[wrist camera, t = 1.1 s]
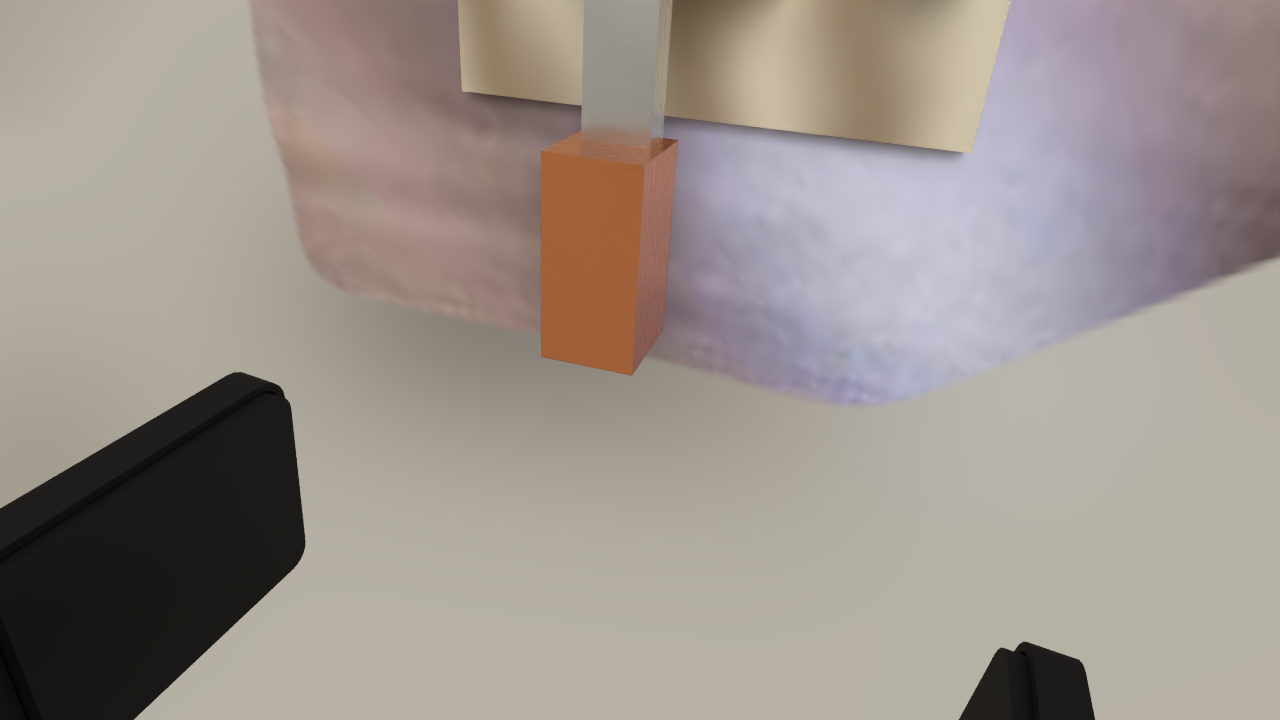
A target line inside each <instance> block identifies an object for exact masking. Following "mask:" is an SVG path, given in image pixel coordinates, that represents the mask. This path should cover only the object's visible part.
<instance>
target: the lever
mask: <svg viewBox="0 0 1280 720" xmlns="http://www.w3.org/2000/svg"><path fill="white" fill-rule="evenodd" d="M672 2H673V0H584V26H583V71H582V117H581V131H579V132H577V133H575V134H573V135H571V136H570V137H568V138H566V139H564V140H562V141H560V142H558V143H556V144H554V145H552V146H550V147H548V148H546V149H544V150H542V151H541V357H545V358H550V359H554V360H559V361H564V362H569V363H574V364H578V365H583V366H589V367H593V368H598V369H603V370H608V371H612V372H618V373H622V374H627V375H633V373H634V372H635V370H636V369H637V367H638V366H639V364H640V363H641V361H642V360H643V359H644V357H645V356H646V354H647V353H648V351H649V350H650V348H651V347H652V345H653V344H654V342H655V341H656V339H657V338H658V337H659V335H660V334H661V332H662V331H663V322H664V310H665V297H666V285H667V273H668V260H669V248H670V235H671V223H672V211H673V198H674V186H675V173H676V161H677V149H678V140H673V139H665V138H663V128H664V114H665V100H666V86H667V72H668V58H669V44H670V30H671V16H672Z"/></svg>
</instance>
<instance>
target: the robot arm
mask: <svg viewBox="0 0 1280 720" xmlns="http://www.w3.org/2000/svg"><path fill="white" fill-rule="evenodd" d="M300 496H301V495H300V486H299V478H298V468H297V458H296V449H295V440H294V431H293V421H292V412H291V406H290V403H289V402H288V400H287V399H285V396H284V393H283V390H282V389H281V387H280V386H279V385H276V384H274V383H272V382H269V381H266V380H263V379H260V378H257V377H254V376H251V375H248V374H245V373H242V372H235V373H232V374H229V375H227V376H225V377H224V378H222V379H220V380H218V381H217V382H215V383H213V384H212V385H210V386H208V387H207V388H205V389H203V390H201V391H200V392H198V393H196V394H195V395H193V396H191V397H190V398H188V399H186V400H184V401H183V402H181V403H179V404H178V405H176V406H174V407H172V408H171V409H169V410H168V411H166V412H164V413H162V414H161V415H159V416H157V417H156V418H154V419H152V420H150V421H149V422H147V423H145V424H144V425H142V426H140V427H138V428H137V429H135V430H133V431H132V432H130V433H128V434H127V435H125V436H123V437H121V438H120V439H118V440H116V441H115V442H113V443H111V444H110V445H108V446H106V447H105V448H103V449H101V450H99V451H98V452H96V453H94V454H92V455H91V456H89V457H87V458H86V459H84V460H82V461H81V462H79V463H77V464H75V465H74V466H72V467H70V468H69V469H67V470H65V471H64V472H62V473H60V474H58V475H57V476H55V477H53V478H52V479H50V480H48V481H46V482H45V483H43V484H41V485H40V486H38V487H36V488H35V489H33V490H31V491H30V492H28V493H26V494H24V495H23V496H21V497H19V498H18V499H16V500H14V501H13V502H11V503H9V504H7V505H6V506H4V507H3V508H0V720H134V719H135V718H136V717H137V716H138V715H139V714H140V713H141V712H142V711H143V710H144V709H145V708H146V707H147V706H149V705H150V704H151V703H152V702H153V701H154V700H155V699H156V698H157V697H158V696H159V695H160V694H161V693H162V692H163V691H164V690H165V689H167V688H168V687H169V686H170V685H171V684H172V683H173V682H174V681H175V680H176V679H177V678H178V677H179V676H180V675H181V674H182V673H184V672H185V671H186V670H187V669H188V668H189V667H190V666H191V665H192V664H193V663H194V662H195V661H196V660H197V659H198V658H199V657H200V656H201V655H203V653H205V652H206V651H207V650H208V649H209V648H210V647H211V646H212V645H213V644H214V643H215V642H216V641H217V640H219V638H221V637H222V636H223V635H224V634H225V633H226V632H227V631H228V630H229V629H230V628H231V627H232V626H233V625H234V624H235V623H236V622H238V621H239V619H241V618H242V617H243V616H244V615H245V614H246V613H247V612H248V611H249V610H250V609H251V608H252V607H253V606H254V605H256V604H257V603H258V602H259V601H260V600H261V599H262V598H263V597H264V596H265V595H266V594H267V593H268V592H269V591H270V590H271V589H273V588H274V587H275V586H276V585H277V584H278V583H279V582H280V581H281V580H282V579H283V578H284V577H285V576H286V575H287V574H288V573H290V572H291V570H293V569H294V567H295V566H296V565H297V564H298V562H299V561H300V559H301V557H302V555H303V553H304V549H305V533H304V525H303V524H304V523H303V514H302V505H301V497H300ZM959 720H1095V717H1094V712H1093V708H1092V702H1091V697H1090V692H1089V687H1088V682H1087V676H1086V672H1085V669H1084V666H1083V664H1082V663H1081V662H1080V660H1078V659H1075V658H1072V657H1069V656H1066V655H1063V654H1060V653H1057V652H1054V651H1051V650H1049V649H1046V648H1043V647H1040V646H1037V645H1034V644H1031V643H1028V642H1022V643H1021V644H1019V645H1018V647H1017V648H1016V650H1015V651H1014V652H1013V651H1010V650H1008V649H1005V648H1000V649H998V650H997V652H996V653H995V655H994V657H993V658H992V660H991V662H990V664H989V666H988V668H987V669H986V671H985V673H984V675H983V677H982V679H981V680H980V682H979V684H978V686H977V688H976V689H975V691H974V693H973V695H972V697H971V699H970V700H969V702H968V704H967V706H966V708H965V710H964V711H963V713H962V715H961V717H960V719H959Z"/></svg>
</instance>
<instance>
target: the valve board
mask: <svg viewBox="0 0 1280 720" xmlns="http://www.w3.org/2000/svg"><path fill="white" fill-rule="evenodd" d="M1010 3H1011V0H673V2H672V16H671V30H670V44H669V58H668V72H667V86H666V100H665V114H664V116H670V117H678V118H687V119H695V120H703V121H711V122H719V123H728V124H736V125H744V126H752V127H760V128H769V129H777V130H785V131H793V132H801V133H810V134H818V135H826V136H834V137H842V138H851V139H859V140H867V141H875V142H883V143H892V144H900V145H908V146H916V147H924V148H932V149H941V150H949V151H957V152H965V153H972V149H973V145H974V141H975V137H976V134H977V130H978V126H979V122H980V118H981V114H982V110H983V107H984V103H985V99H986V95H987V91H988V87H989V84H990V80H991V76H992V72H993V68H994V64H995V60H996V57H997V53H998V49H999V45H1000V41H1001V37H1002V33H1003V30H1004V26H1005V22H1006V18H1007V14H1008V10H1009V6H1010ZM458 16H459V36H460V57H461V78H462V91H465V92H474V93H482V94H490V95H498V96H506V97H515V98H523V99H531V100H539V101H547V102H556V103H564V104H572V105H580V106H582V71H583V26H584V0H458Z"/></svg>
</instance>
